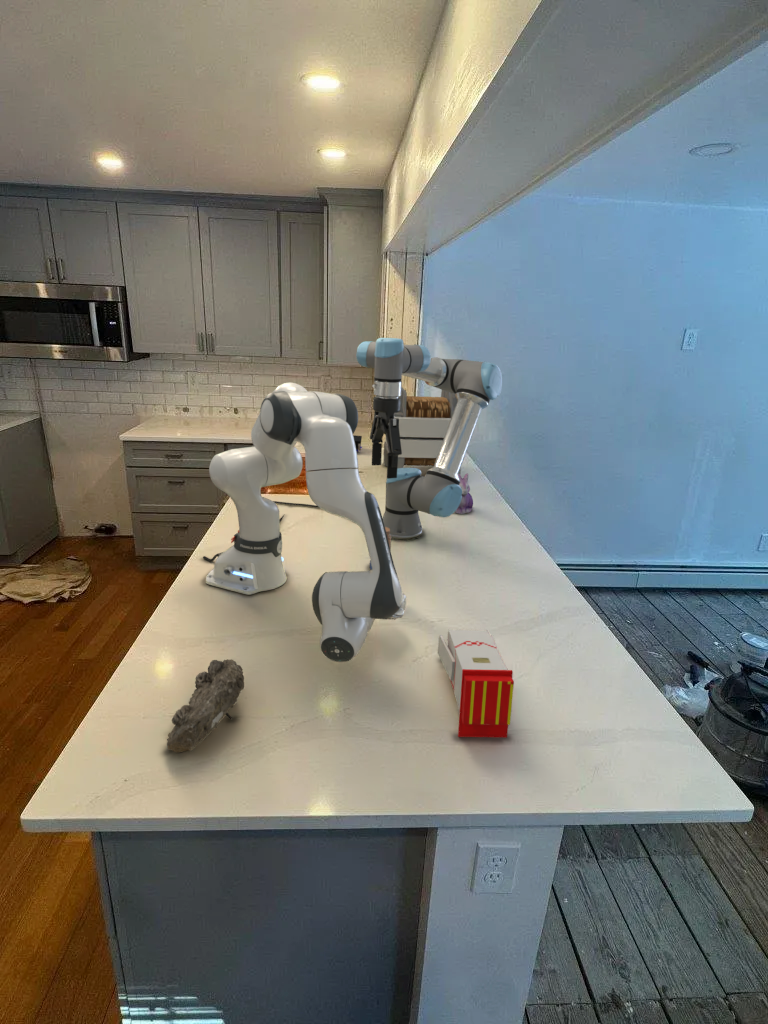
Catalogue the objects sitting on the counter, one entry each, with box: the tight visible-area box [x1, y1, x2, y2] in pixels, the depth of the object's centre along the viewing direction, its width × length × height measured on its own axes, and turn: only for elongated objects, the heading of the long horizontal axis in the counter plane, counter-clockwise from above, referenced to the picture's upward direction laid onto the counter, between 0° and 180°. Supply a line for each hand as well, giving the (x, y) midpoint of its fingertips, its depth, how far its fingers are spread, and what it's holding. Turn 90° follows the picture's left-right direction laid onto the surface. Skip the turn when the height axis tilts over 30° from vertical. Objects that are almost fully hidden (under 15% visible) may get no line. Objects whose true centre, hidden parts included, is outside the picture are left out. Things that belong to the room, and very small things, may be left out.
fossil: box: [166, 658, 245, 754], centre depth 106 cm, size 22×10×15 cm
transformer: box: [383, 387, 462, 475], centre depth 268 cm, size 34×33×41 cm
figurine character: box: [353, 434, 363, 454], centre depth 310 cm, size 7×8×15 cm
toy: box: [437, 628, 515, 738], centre depth 117 cm, size 12×13×30 cm
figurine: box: [454, 473, 474, 515], centre depth 223 cm, size 9×10×15 cm
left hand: (370, 585), depth 142 cm, fingers open, 8 cm apart
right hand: (383, 471), depth 163 cm, fingers open, 13 cm apart
